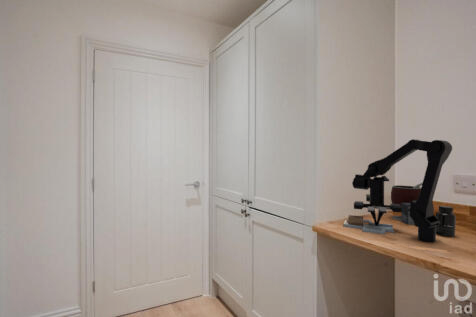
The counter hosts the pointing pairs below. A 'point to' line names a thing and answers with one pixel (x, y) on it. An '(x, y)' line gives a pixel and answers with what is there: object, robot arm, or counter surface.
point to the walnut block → (355, 220)
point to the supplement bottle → (446, 221)
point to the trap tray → (372, 227)
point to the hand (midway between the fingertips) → (376, 225)
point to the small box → (406, 214)
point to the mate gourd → (404, 195)
